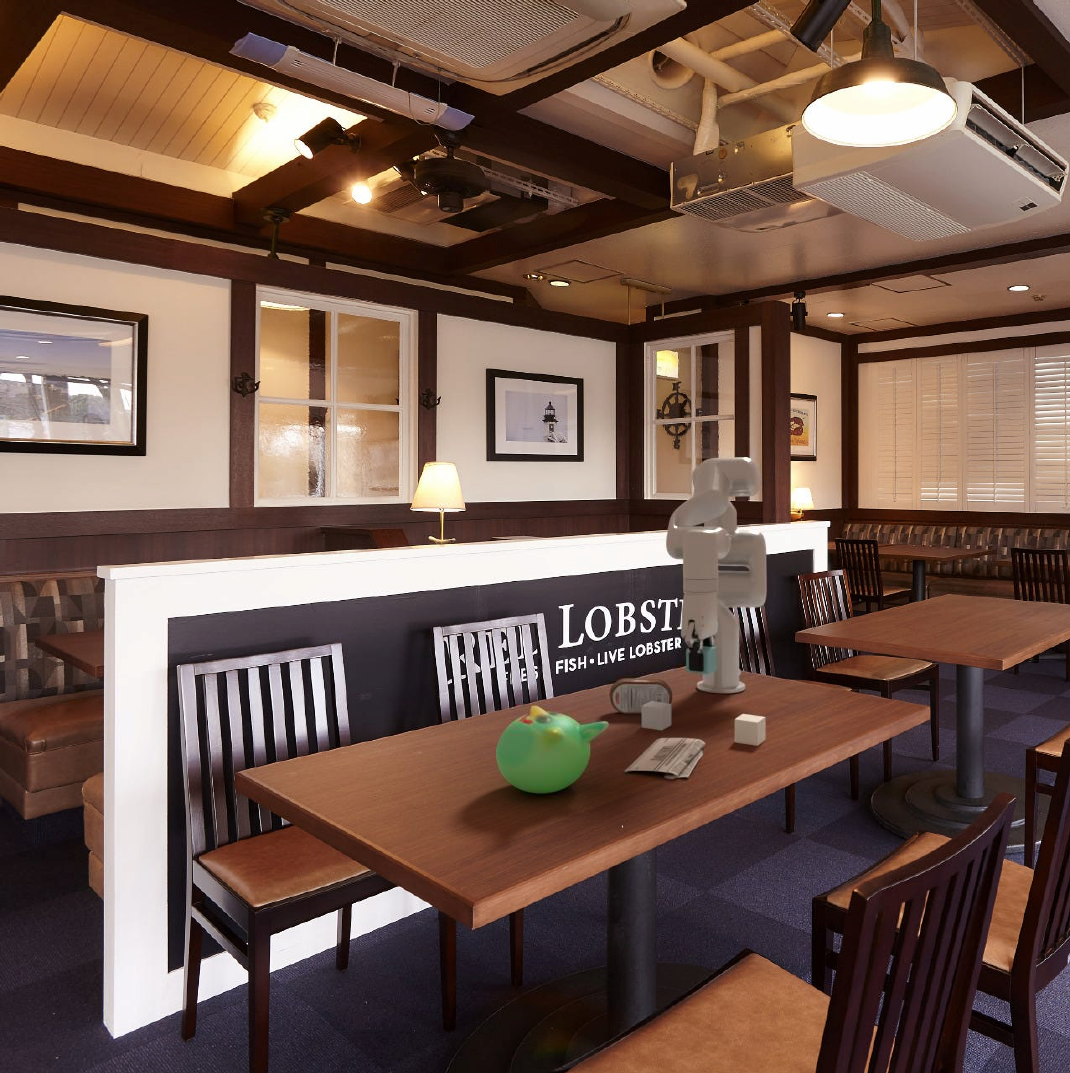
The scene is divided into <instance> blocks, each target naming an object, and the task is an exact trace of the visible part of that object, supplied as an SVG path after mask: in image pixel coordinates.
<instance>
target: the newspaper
mask: <svg viewBox="0 0 1070 1073" xmlns="http://www.w3.org/2000/svg"><path fill="white" fill-rule="evenodd" d="M705 746H706V742H704V741H703V740H702V739H700V738H689V737H661V738H657V739H655V741H654V742H653V743H652V744H650V746H649V747H648V748H647V749H645V751H644V752H642V754H640V755H639V757H637V758H636V759H635V760H634V761H633V763H631V764H630V765H629V766H628V767H626V769H625V770H624V771H623V774H624V773H626V774H627V773H628V772H661V773H665V775H664V778H666V779H668V780H675V779H679V778H689V777H690V775H691V773H692V772H693V770H694V768H695V766H697V763H698V761H699V760H700V759H701V758H702V756H703V755H704V753H703V748H704V747H705Z"/></svg>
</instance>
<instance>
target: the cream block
mask: <svg viewBox="0 0 1070 1073" xmlns="http://www.w3.org/2000/svg"><path fill="white" fill-rule="evenodd" d="M766 720H767V719H766V716H761V715H752V714H746V713H742V714H740V715H739V716H737V717H736V718H735V719H734V743H738V744H745V745H751V746H757V747H758V746H759V745H760V744H762V743H763V742H765V741H766V734H767V732H766V730H767V729H766V722H767V721H766Z"/></svg>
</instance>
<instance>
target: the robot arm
mask: <svg viewBox="0 0 1070 1073" xmlns="http://www.w3.org/2000/svg"><path fill="white" fill-rule="evenodd" d="M761 477H762V476H761V471H760V469H759V466H758V465H757V463H756V462H755V461H754V460H753V459H751V458H749V457H738V456H737V457H736V456H735V457H713V458H707V459H705V460H704V461H701V463H700V464H699V465H698V466H697V467H695V468H694V469H693V470H692V474H691V481H692V486H693V493H692V497H690V498H689V499H688V500H686V501H685V502H683V503H682V504H681V505H679V506H678V507H677V508H676V509H675V510H674V511H673V512H672V514H671V515H670V516H671V517H670V518H669V521H668V522H669V523H668V526H667V533H666V540H665V548H666V551H667V554H668V555H669V556H670V557H671V558H673V559H676V560H682V568H683V569H682V575H683V576H682V577H683V580H682V582H683V583H682V586H683V588H682V590H683V591H682V593H683V600H682V606H681V624H680V625H681V626H680V628H681V630H680V634H681V635H680V636H681V638H682V639H684V642H685V644H686V646H687V649H688V653H689V670H690V671H698V672H702V671H703V670H704V657H703V653H702V646H707V647H717V670H715V671H714V672H712V673H710V674H702V680H700V681H698V682H697V683H696V688H697V689H698V690H700V691H702V692H707V693H713V694H714V693H715V694H735V693H740V692H742V691H744V690H745V689H746V684H745V683H744V682H742V681H740V675H742V671H741V670H742V669H740V633H739V632H740V626H739V621H738V619H737V617H736V616H735V615H734V613H733V612H732V610H730V608H759V607H762V606H763V605H764V604H765V603H766V599H767V592H768V590H767V584H768V583H767V545H766V544H767V543H766V540H765V539H766V538H765V536H764V535H763V533H762V532H761V531H758V530H754V529H738V527H737V524H738V520H737V518H738V517H737V516H738V515H737V514H738V512H737V509H736V508H735V506H734V505H733V503H732V502H731V501H730V497H753V496H754V497H755V496H756V495H757V494H758V493H759V490H760V488H761V483H762V482H761V481H762V478H761ZM702 524H704V526H702ZM697 525H699V526H697ZM700 525H701V526H700ZM719 566H723V567H724V566H725V567H726V566H727V567H728V566H730V567H746V568H748V570H749V571H747V570H719ZM694 637H695V638H694Z"/></svg>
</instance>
